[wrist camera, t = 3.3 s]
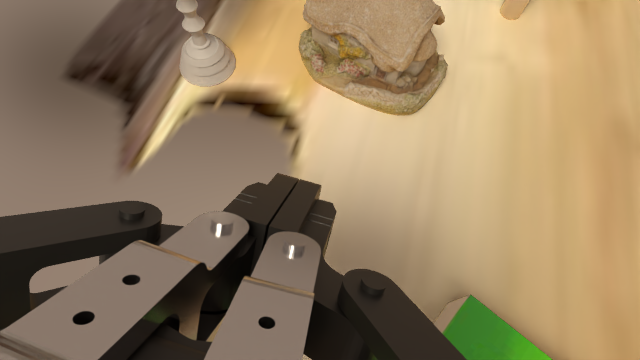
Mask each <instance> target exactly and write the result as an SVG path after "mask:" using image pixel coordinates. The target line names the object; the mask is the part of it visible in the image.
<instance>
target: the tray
mask: <svg viewBox="0 0 640 360" xmlns="http://www.w3.org/2000/svg"><path fill="white" fill-rule="evenodd" d="M433 324H434V325H435V326H436V327H437V328H438V329H439V331H440V332H441V333H442V334H443V335H444V336H445V337H446V338H447V339H448V340H449V341H450V342H451V343H452V344H453V345H454V346H455V347H456V349H457V350H458V351H459V352H460V353H461V354H462V355H463V356H464V357H465V358H466V359H467V360H552V359H551V358H550V357H549V356H547V355H546V354H545V353H543V352H542V351H541V350H540V349H538V348H537V347H536V346H535V345H533V344H532V343H531V342H530V341H528V340H527V339H526V338H525V337H523V336H522V335H521V334H520V333H518V332H517V331H516V330H515V329H513V328H512V327H511V326H510V325H508V324H507V323H506V322H505V321H503V320H502V319H501V318H499V317H498V316H497V315H496V314H494V313H493V312H492V311H491V310H489V309H488V308H487V307H486V306H484V305H483V304H482V303H481V302H479V301H478V300H477V299H476V298H474V297H473V296H472V295H468V296H465V297H463V298H460V299H457V300H455V301H452V302H449V303H447V305H446V306H445V308H444V309H443V311H442V312H441V313H440V315H439V316H438V318H437V319H436V321H435V322H434V323H433Z"/></svg>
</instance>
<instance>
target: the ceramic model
mask: <svg viewBox="0 0 640 360" xmlns="http://www.w3.org/2000/svg"><path fill="white" fill-rule="evenodd" d="M303 17H304V20H306V21H307V22H308V23H310V24H312V27H311V28H310V29H309V30H305V31H304V32H303V33H302V34H301V38H300V43H299V51H300V53H301V57H302V61H303V63H304V65H305V67H306V69H307V70H308V72H309V74H310V75H311V77H312V78H313V79H314V80H315V81H316V82H317V83H319V84H321V85H322V86H324V87H326V88H328V89H330V90H332V91H334V92H336V93H338V94H340V95H342V96H344V97H346V98H348V99H350V100H352V101H354V102H356V103H359V104H361V105H364V106H367V107H369V108H372V109H374V110H377V111H380V112H383V113H387V114H393V115H409V114H412V113H415V112H416V111H417V110H418V109H420V108H421V107H422V106H423V105H424V104H425V103H426V102H427V101H428V100H429V99H430V98H431V97H432V96H433V94H434V93H435V91H436V90H437V88H438V86H439V84H440V83H441V82H442V79H443V78H445V74H446V70H447V66H448V65H447V63H446V62H445V60H444V55H438V53H437V51H436V47H437V42H436V39H435V37H434V35H433V33H432V32H431V28H432V26H433V24H437V25H441V24H442V23H443V22H444V20H445V17H444V14H443V12H442V10H441V6H438V5H436V4H435V3H434V2H433V0H307V1H306V4H305V5H304V11H303Z"/></svg>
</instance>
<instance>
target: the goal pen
mask: <svg viewBox="0 0 640 360" xmlns="http://www.w3.org/2000/svg"><path fill="white" fill-rule="evenodd" d="M529 1H530V0H505V1H504V3H503V5H502V7H501V9H500V13H501V15H502V16H503V17H504V18H506V19H509V20H515V19H518V18H519V17H520V15H521V14H522V12H523V10H524V9H525V7H526V5H527V4H528V2H529Z"/></svg>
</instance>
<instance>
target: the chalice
mask: <svg viewBox="0 0 640 360" xmlns="http://www.w3.org/2000/svg"><path fill="white" fill-rule="evenodd" d="M176 7H177V9H178V10H179V11H181V12H182V13H183V14H184V15H185V19H184V20H183V22H182V26H183V28H184V29H185V30H187V31H189V32H190V33H191V34H192V36H191V37H190V38H189V39H188V40H187V41H186V42H185V43H184V45H183V47H182V52H181V59H180V66H179V68H180V71H181V74H182V76H183V77H184V78H185V79H186V80H187V81H188V82H190V83H192V84H194V85H198V86H213V85H217V84H220V83H221V82H223V81H225V80H227V79H228V77H229V76H230V75H231V74H232V73H233V71H234V69H235V63H236V59H235V57H234V54H233V52H232V51H231V50H230V49H229V48H228V47H227V46H226V45H225V44H224V43H223V42H222V41H221V40H220V39H219V38H218V37H216V36H214V35H211V34H208V33H203V32H202V28H203V27H204V25H205V21H204V19H203V18H202V17H200V16H198V15H197V14H196V8H197V7H198V3H197V1H196V0H177V3H176Z"/></svg>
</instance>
